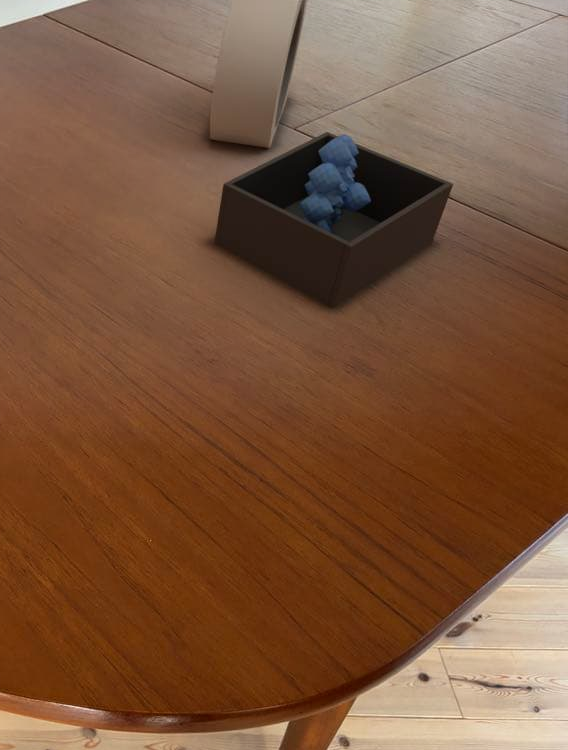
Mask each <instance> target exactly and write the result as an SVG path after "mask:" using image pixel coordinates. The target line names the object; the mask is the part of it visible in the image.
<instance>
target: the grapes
mask: <svg viewBox="0 0 568 750" xmlns="http://www.w3.org/2000/svg"><path fill="white" fill-rule="evenodd" d="M336 136H337V137H336V138H334V139H333V140H331V141H330V142H328V143H327V144H326V145H325V146H323V147H322V148H321V149H320V150H319V151H318V152H319V155H320V157H321V159H322V161H323V163H324V164H321V165H320V166H318V167H317V168H315V169H314V170H312V171H311V172H310V173H309V174H308V175H309V178H310V181H309V182H308V183H306V184H305V188H306V191H307V193H308V195H309V197H307V198H306V199H304V200H303V201H302V202H301V203H300V205H301V208H302V210H303V213H304V214H305V216H306V217H305V218H304V220H306V221H308V222H310V223H312V224H314V225H316V226H318V227H320V228H322V229H324V230H326V231H328V232H330V233H332V234H334V233H333V230H332V228H331V225H333V224H335V223H336V222H338V221H339V220H340V219H342V218H341V215H343V213H342V210H344V209H347V210H348V211H351V212H352V211H356V210H359V209H361V208H362V207H364V206H365V205H367V204H368V203H369V202H371V199H370V197H369V194H368V192H367V190H366V188H365V187H364V185H362V184H360V183H358V182H356V183H355V182H354V180H353V177H355V175H354V174H353V172H352V171H353V170H355V169H356V168H357V164H356V161H355V159H354V156H356V155H357V154H358V150H357V147H356V145H355V143H356V142H355V141H354V139H353V138H352V136H350V135H349V134H346V133H343V134H339V135H336Z"/></svg>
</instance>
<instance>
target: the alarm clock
mask: <svg viewBox="0 0 568 750" xmlns="http://www.w3.org/2000/svg"><path fill="white" fill-rule="evenodd" d="M307 5H308V0H230V4H229V7H228V12H227V15H226V18H225V24H224V28H223V33H222V37H221V43H220V47H219V52H218V53H219V54H218V57H217V64H216V69H215V74H214V75H215V76H214V82H213V87H212V88H213V89H212V95H211V97H212V98H211V106H210V119H209V120H210V121H209V135H210V140H212V141H219V142H225V143H234V144H238V145H246V146H253V147H259V148H266V149H270V148H271V146H272V142H273V140H274V137H275V134H276V133H277V132H276V131H277V128H278V126H279V123H280V120H281V118H282V114H283V112H284V108H285V106H286V103H287V99H288V95H289V91H290V88H291V87H290V86H291V82H292V77H293V74H294V69H295V65H296V60H297V56H298V53H299V46H300V42H301V37H302V33H303V26H304V21H305V16H306V12H307Z"/></svg>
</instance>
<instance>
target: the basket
mask: <svg viewBox="0 0 568 750" xmlns="http://www.w3.org/2000/svg"><path fill="white" fill-rule="evenodd" d="M337 136H338V135H336V134H334V133H331V132H329V131H325V132H323V133H321V134H320V135H317V136H316V137H314V138H312V139H309V140H308V141H305V142H304V143H302V144H300V145H297V146H296V147H294V148H292V149H290V150H287V151H286V152H283V153H282V154H280V155H278V156H276V157H273V158H272V159H270V160H268V161H266V162H264V163H262V164H260V165H258V166H256V167H254V168H252V169H250V170H248V171H246V172H244V173H242V174H240V175H238V176H236V177H233V178H232V179H230V180H228V181H226V182H225V183H223V184H222V191H221V197H220V202H219V203H220V204H219V208H218V209H219V210H218V216H217V223H216V229H215V236H214V244H215V245H216V246H219V247H220V248H222V249H224V250H226V251H228V252H229V253H232V254H233V255H235V256H237V257H238V258H240V259H243V260H244V261H246V262H248V263H249V264H252V265H253V266H255V267H257V268H258V269H260V270H262V271H264V272H266V273H267V274H270V275H271V276H273V277H275V278H277V279H279V280H281V282H284V283H286V284H287V285H290V286H291V287H293V288H295V289H297V290H299V291H300V292H303V293H304V294H306V295H307V296H309V297H311V298H313V299H315V300H317V301H319V302H320V303H322V304H324V305H326V306H328V307H329V308H331V309H335V308H338V306H340V305H342V304H343V303H344V302H346V301H348V300H349V299H351V298H352V297H353V296H355V295H356V294H358V293H359V292H361V291H362V290H364V289H366V288H367V287H368V286H371V284H374V282H376V281H378V280H379V279H380V278H382V277H384V276H385V275H387V274H388V273H390V272H391V271H393V270H394V269H396V268H397V267H399V266H400V265H402V264H403V263H405V262H406V261H408V260H409V259H412V258H413V257H414V256H415V255H417V254H418V253H420V252H422V251H423V250H425V249H426V248H428V247H429V246H432V244H433V241H434V238H435V236H436V234H437V230H438V228H439V225H440V223H441V219H442V217H443V214H444V211H445V208H446V205H447V203H448V200H449V197H450V194H451V192H452V189H453V187H454V183H452V182H450V181H448V180H445V179H443V178H440V177H438V176H435V175H433V174H430V173H428V172H426V171H423V170H421V169H419V168H416V167H414V166H411V165H410V164H407V163H404V162H402V161H400V160H396V159H394V158H392V157H390V156H387V155H384V154H382V153H379V152H378V151H375V150H372V149H370V148H367V147H365V146H362V145H360V144H358V143H356V142H354V143H355V145H356V147H357V150H358V154H357V155H356V156H354V159H355V161H356V164H357V168H356V169H355V170H353V171H352V172H353V174H354V175H355V177H353V180H354V182H355V183H356V182H358V183H360V184H362V185H364V187H365V188H366V190H367V192H368V194H369V197H370V199H371V202H369V203H368V204H367V205H365V206H364V207H362V208H361V209H359V210H356V211H352V212H351V211H348V210H347V209H344V210H342V213H343V215H341V218H342V219H340V220H339V221H338V222H336V223H335V224H333V225H331V228H332V230H333V233H334V234H332V233H330V232H328V231H326V230H324V229H322V228H320V227H318V226H316V225H314V224H312V223H310V222H308V221H306V220H304V218H305V217H306V216H305V214H304V213H303V210H302V208H301V205H300V203H301V202H302V201H303V200H304V199H306V198H307V197H309V195H308V193H307V191H306V188H305V184H306V183H308V182H309V181H310V178H309V175H308V174H309V173H310V172H311V171H312V170H314V169H315V168H317V167H318V166H320V165H321V164H324V163H323V161H322V159H321V157H320V155H319V152H318V151H319V150H320V149H321V148H322V147H323V146H325V145H326V144H327V143H328V142H330V141H331V140H333V139H334V138H336V137H337Z"/></svg>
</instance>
